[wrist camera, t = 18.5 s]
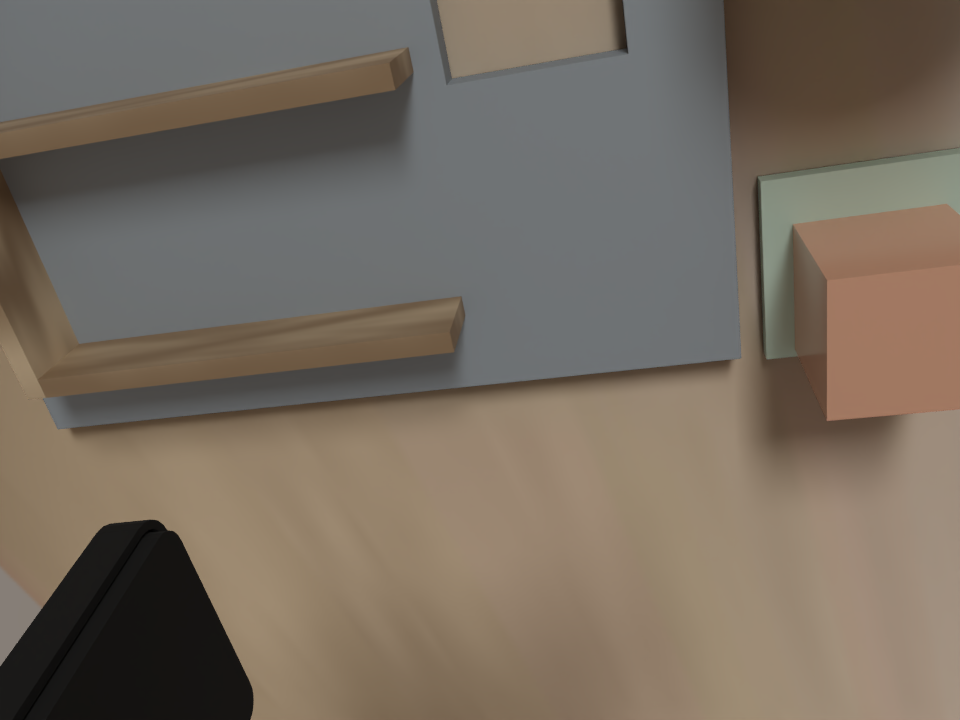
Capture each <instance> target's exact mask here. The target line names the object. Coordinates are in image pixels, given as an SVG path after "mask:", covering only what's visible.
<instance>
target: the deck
mask: <svg viewBox="0 0 960 720" xmlns="http://www.w3.org/2000/svg"><path fill="white" fill-rule="evenodd" d="M622 1H623V11H624V21H625V31H626V41H627V48H625V49H619V50H614V51H608V52H602V53H596V54H591V55H585V56H579V57H574V58H568V59H562V60H556V61H551V62H545V63H539V64H534V65H528V66H522V67H516V68H511V69H505V70H499V71H493V72H488V73H482V74H476V75H471V76H465V77H459V78H453V79H452V77H451V72H450V67H449V62H448V57H447V51H446V46H445V41H444V36H443V31H442V26H441V20H440V15H439V10H438V5H437V0H0V122H4V121H9V120H15V119H20V118H26V117H31V116H37V115H42V114H47V113H53V112H58V111H64V110H69V109H75V108H80V107H85V106H91V105H96V104H102V103H107V102H113V101H118V100H124V99H129V98H134V97H140V96H145V95H151V94H156V93H162V92H167V91H172V90H178V89H183V88H189V87H194V86H200V85H205V84H210V83H216V82H221V81H227V80H232V79H238V78H243V77H249V76H254V75H259V74H265V73H270V72H276V71H281V70H287V69H292V68H297V67H303V66H308V65H314V64H319V63H325V62H330V61H335V60H341V59H346V58H352V57H357V56H363V55H368V54H374V53H379V52H384V51H390V50H395V49H401V48H406V47H408V48H409V52H410V57H411V62H412V66H413V71H414V72H413V73H412V74H411V75H410V76H409V77H408V78H407V79H406V80H405V81H404V82H403V83H402V84H401V85H400V86H399V87H398V88H397V89H396V90H393V91H387V92H382V93H376V94H370V95H364V96H359V97H353V98H347V99H341V100H336V101H330V102H324V103H319V104H313V105H307V106H301V107H296V108H290V109H284V110H278V111H273V112H267V113H261V114H255V115H250V116H244V117H238V118H233V119H227V120H221V121H215V122H210V123H204V124H198V125H192V126H187V127H181V128H175V129H170V130H164V131H158V132H152V133H147V134H141V135H135V136H129V137H124V138H118V139H112V140H107V141H101V142H95V143H89V144H84V145H78V146H72V147H66V148H61V149H55V150H49V151H43V152H38V153H32V154H26V155H21V156H15V157H9V158H3V159H0V170H1V172H2V174H3V176H4V179H5V181H6V183H7V185H8V187H9V190H10V192H11V194H12V196H13V198H14V201H15V203H16V205H17V207H18V210H19V212H20V214H21V216H22V218H23V221H24V223H25V225H26V227H27V230H28V232H29V234H30V236H31V238H32V241H33V243H34V245H35V247H36V249H37V252H38V254H39V256H40V258H41V261H42V263H43V265H44V267H45V269H46V272H47V274H48V276H49V278H50V281H51V283H52V285H53V287H54V289H55V292H56V294H57V296H58V298H59V300H60V303H61V305H62V307H63V309H64V312H65V314H66V316H67V318H68V320H69V323H70V325H71V327H72V329H73V331H74V334H75V336H76V338H77V340H78V343H79V344H82V343H90V342H98V341H106V340H114V339H122V338H130V337H138V336H146V335H154V334H162V333H170V332H178V331H186V330H194V329H202V328H210V327H218V326H226V325H235V324H243V323H251V322H259V321H267V320H275V319H283V318H291V317H299V316H307V315H315V314H323V313H331V312H339V311H347V310H355V309H363V308H371V307H379V306H387V305H395V304H403V303H411V302H419V301H427V300H435V299H443V298H451V297H459V296H461V297H462V301H463V306H464V311H465V319H464V322H463V325H462V328H461V332H460V335H459V338H458V342H457V345H456V348H455V351H454V352H453V353H444V354H435V355H426V356H417V357H408V358H399V359H390V360H381V361H372V362H363V363H354V364H345V365H336V366H327V367H318V368H310V369H301V370H292V371H283V372H274V373H265V374H256V375H247V376H238V377H229V378H220V379H211V380H202V381H193V382H184V383H175V384H167V385H158V386H149V387H140V388H131V389H122V390H113V391H104V392H95V393H86V394H77V395H68V396H59V397H50V398H43V400H44V402H45V404H46V406H47V408H48V410H49V412H50V414H51V416H52V418H53V420H54V422H55V424H56V426H57V429H65V428H74V427H84V426H94V425H103V424H113V423H123V422H132V421H142V420H152V419H161V418H171V417H180V416H190V415H200V414H209V413H219V412H229V411H238V410H248V409H258V408H267V407H277V406H287V405H296V404H306V403H316V402H325V401H335V400H345V399H354V398H364V397H373V396H383V395H393V394H402V393H412V392H422V391H431V390H441V389H451V388H460V387H470V386H480V385H489V384H499V383H509V382H518V381H528V380H537V379H547V378H557V377H566V376H576V375H586V374H595V373H605V372H615V371H624V370H634V369H644V368H653V367H663V366H673V365H682V364H692V363H701V362H711V361H721V360H730V359H740V358H741V343H740V323H739V303H738V282H737V262H736V242H735V222H734V202H733V182H732V161H731V141H730V121H729V101H728V81H727V60H726V40H725V20H724V0H622Z"/></svg>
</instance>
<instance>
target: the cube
mask: <svg viewBox="0 0 960 720" xmlns="http://www.w3.org/2000/svg"><path fill="white" fill-rule="evenodd" d="M793 268H794V325H795V351H796V353H797V355H798V357H799V360H800V362H801V364H802V366H803V369H804V371H805V373H806V375H807V378H808V380H809V382H810V384H811V387H812V389H813V391H814V393H815V396H816V398H817V400H818V402H819V404H820V407H821V409H822V411H823V413H824V416H825V418H826V420H827V421H833V420H844V419H855V418H867V417H878V416H889V415H900V414H911V413H923V412H934V411H945V410H956V409H960V215H959V214H958V213H957V212H956V211H955V210H954V209H952V208H951V207H950V206H949V205H948V204H941V205H934V206H926V207H919V208H911V209H903V210H896V211H888V212H881V213H873V214H866V215H858V216H850V217H843V218H835V219H828V220H820V221H813V222H805V223H797V224H793Z"/></svg>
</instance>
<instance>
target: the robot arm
mask: <svg viewBox="0 0 960 720" xmlns="http://www.w3.org/2000/svg"><path fill="white" fill-rule="evenodd" d="M252 711H253V690H252V687H251V684H250V682H249V679H248V677H247V675H246V673H245V671H244V669H243V667H242V665H241V663H240V661H239V659H238V657H237V655H236V653H235V651H234V648H233V646H232V644H231V642H230V640H229V638H228V636H227V634H226V632H225V630H224V628H223V626H222V624H221V622H220V620H219V617H218V615H217V613H216V611H215V609H214V607H213V605H212V603H211V601H210V599H209V597H208V595H207V593H206V591H205V588H204V586H203V584H202V582H201V580H200V578H199V576H198V574H197V572H196V570H195V568H194V566H193V564H192V562H191V560H190V557H189V555H188V553H187V551H186V549H185V547H184V545H183V543H182V541H181V539H180V538H179V536H178V535H177V534H176V533H175V532H173V531H167V529H166V528H165V526H164V525H163V524H162V523H160V522H159V521H157V520H143V521H133V522H123V523H113V524H108V525H106V526H103V527H102V528H101V529H100V530H99V531H98V532H97V533H96V535H95V536H94V537H93V539H92V540H91V542H90V543H89V544H88V546H87V547H86V549H85V550H84V551H83V553H82V554H81V555H80V557H79V558H78V560H77V561H76V562H75V564H74V565H73V567H72V568H71V569H70V571H69V572H68V573H67V575H66V576H65V578H64V579H63V580H62V582H61V583H60V585H59V586H58V587H57V589H56V590H55V591H54V593H53V594H52V596H51V597H50V598H49V600H48V601H47V603H46V604H45V605H44V607H43V608H42V609H41V611H40V612H39V614H38V615H37V616H36V618H35V619H34V621H33V622H32V623H31V625H30V626H29V627H28V629H27V630H26V632H25V633H24V634H23V636H22V637H21V639H20V640H19V641H18V643H17V644H16V645H15V647H14V648H13V650H12V651H11V652H10V654H9V655H8V657H7V658H6V659H5V661H4V662H3V664H2V665H1V666H0V720H250V719H251V716H252Z"/></svg>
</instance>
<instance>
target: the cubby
mask: <svg viewBox="0 0 960 720" xmlns="http://www.w3.org/2000/svg"><path fill="white" fill-rule="evenodd" d="M413 72H414V71H413V66H412V62H411V57H410V52H409V48H408V47H406V48H401V49H395V50H390V51H384V52H379V53H374V54H368V55H363V56H357V57H352V58H346V59H341V60H335V61H330V62H325V63H319V64H314V65H308V66H303V67H297V68H292V69H287V70H281V71H276V72H270V73H265V74H259V75H254V76H249V77H243V78H238V79H232V80H227V81H221V82H216V83H210V84H205V85H200V86H194V87H189V88H183V89H178V90H172V91H167V92H162V93H156V94H151V95H145V96H140V97H134V98H129V99H124V100H118V101H113V102H107V103H102V104H96V105H91V106H85V107H80V108H75V109H69V110H64V111H58V112H53V113H47V114H42V115H37V116H31V117H26V118H20V119H15V120H9V121H4V122H0V159H3V158H9V157H15V156H21V155H26V154H32V153H38V152H43V151H49V150H55V149H61V148H66V147H72V146H78V145H84V144H89V143H95V142H101V141H107V140H112V139H118V138H124V137H129V136H135V135H141V134H147V133H152V132H158V131H164V130H170V129H175V128H181V127H187V126H192V125H198V124H204V123H210V122H215V121H221V120H227V119H233V118H238V117H244V116H250V115H255V114H261V113H267V112H273V111H278V110H284V109H290V108H296V107H301V106H307V105H313V104H319V103H324V102H330V101H336V100H341V99H347V98H353V97H359V96H364V95H370V94H376V93H382V92H387V91H393V90H396V89H397V88H398V87H399V86H400V85H401V84H402V83H403V82H404V81H405V80H406V79H407V78H408V77H409V76H410V75H411V74H412V73H413ZM464 319H465V311H464V306H463V301H462V297H461V296H459V297H451V298H443V299H435V300H427V301H419V302H411V303H403V304H395V305H387V306H379V307H371V308H363V309H355V310H347V311H339V312H331V313H323V314H315V315H307V316H299V317H291V318H283V319H275V320H267V321H259V322H251V323H243V324H235V325H226V326H218V327H210V328H202V329H194V330H186V331H178V332H170V333H162V334H154V335H146V336H138V337H130V338H122V339H114V340H106V341H98V342H90V343H82V344H79V343H78V340H77V338H76V336H75V334H74V331H73V329H72V327H71V325H70V323H69V320H68V318H67V316H66V314H65V312H64V309H63V307H62V305H61V303H60V300H59V298H58V296H57V294H56V292H55V289H54V287H53V285H52V283H51V281H50V278H49V276H48V274H47V272H46V269H45V267H44V265H43V263H42V261H41V258H40V256H39V254H38V252H37V249H36V247H35V245H34V243H33V241H32V238H31V236H30V234H29V232H28V230H27V227H26V225H25V223H24V221H23V218H22V216H21V214H20V212H19V210H18V207H17V205H16V203H15V201H14V198H13V196H12V194H11V192H10V190H9V187H8V185H7V183H6V181H5V179H4V176H3V174H2V172H1V170H0V345H1V347H2V349H3V351H4V353H5V355H6V357H7V359H8V361H9V363H10V365H11V367H12V369H13V371H14V373H15V375H16V377H17V379H18V381H19V383H20V385H21V387H22V389H23V391H24V393H25V395H26V397H27V399H28V400H32V399H41V398H50V397H59V396H68V395H77V394H86V393H95V392H104V391H113V390H122V389H131V388H140V387H149V386H158V385H167V384H175V383H184V382H193V381H202V380H211V379H220V378H229V377H238V376H247V375H256V374H265V373H274V372H283V371H292V370H301V369H310V368H318V367H327V366H336V365H345V364H354V363H363V362H372V361H381V360H390V359H399V358H408V357H417V356H426V355H435V354H444V353H453V352H454V351H455V348H456V345H457V342H458V338H459V335H460V332H461V328H462V325H463V322H464Z"/></svg>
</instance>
